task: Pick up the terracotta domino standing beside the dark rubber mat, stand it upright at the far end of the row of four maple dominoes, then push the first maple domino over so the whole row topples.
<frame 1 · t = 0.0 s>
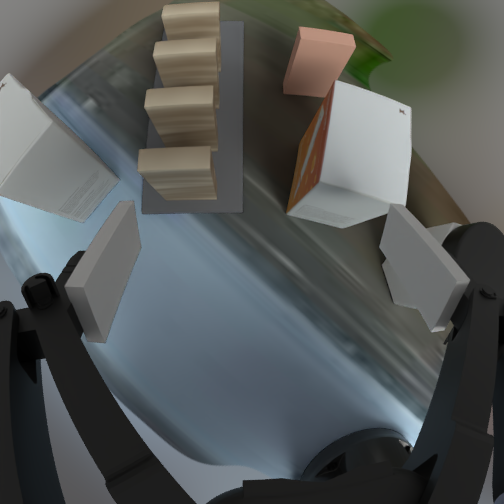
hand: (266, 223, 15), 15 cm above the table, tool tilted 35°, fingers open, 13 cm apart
skincare box: (83, 179, 30), on the table
mat: (196, 101, 31), on the table
small box: (320, 185, 32), on the table
domino 3: (196, 102, 30), point 1 cm above the table, touching mat
domino 4: (199, 67, 31), point 1 cm above the table, touching mat
domino 2: (193, 144, 30), point 1 cm above the table, touching mat
domino 5: (305, 89, 32), on the table
domino 1: (191, 192, 30), point 1 cm above the table, touching mat
jar: (413, 270, 32), on the table
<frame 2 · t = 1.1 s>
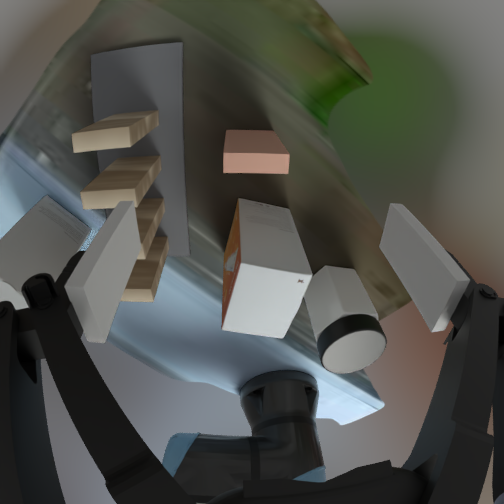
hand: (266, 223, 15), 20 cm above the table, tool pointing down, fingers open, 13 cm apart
skincare box: (62, 226, 36), on the table
mat: (140, 157, 32), on the table
small box: (255, 231, 38), on the table
domino 3: (139, 163, 32), point 1 cm above the table, touching mat
domino 4: (136, 119, 29), point 1 cm above the table, touching mat
domino 2: (143, 205, 35), point 1 cm above the table, touching mat
domino 5: (249, 137, 32), on the table
domino 1: (148, 242, 37), point 1 cm above the table, touching mat
jar: (330, 288, 44), on the table
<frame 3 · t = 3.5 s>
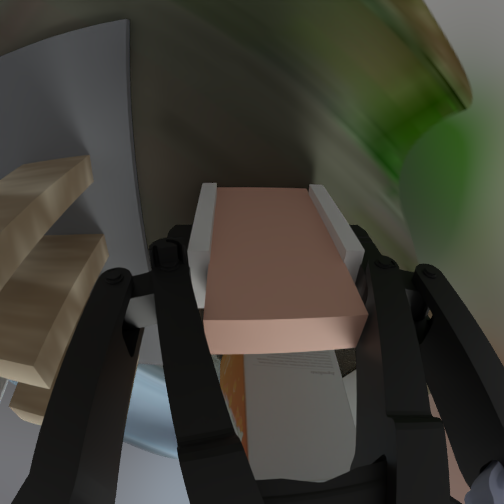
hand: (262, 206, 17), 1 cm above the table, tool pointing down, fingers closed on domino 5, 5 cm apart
mat: (74, 233, 18), on the table
small box: (266, 335, 24), on the table
domino 3: (73, 245, 18), point 1 cm above the table, touching mat
domino 4: (55, 172, 15), point 1 cm above the table, touching mat
domino 2: (92, 303, 21), point 1 cm above the table, touching mat
domino 5: (261, 200, 18), on the table, touching gripper
jar: (363, 383, 30), on the table
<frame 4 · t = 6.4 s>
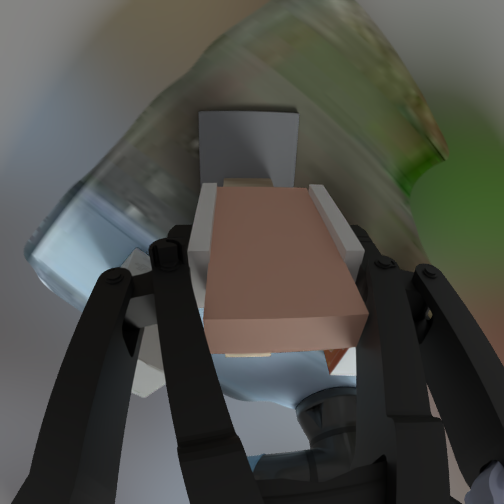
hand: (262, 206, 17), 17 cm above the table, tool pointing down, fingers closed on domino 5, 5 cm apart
skincare box: (150, 276, 40), on the table
mat: (246, 219, 36), on the table
small box: (339, 281, 42), on the table
domino 4: (247, 185, 33), point 1 cm above the table, touching mat
domino 5: (261, 199, 18), point 16 cm above the table, touching gripper
when the fingers open (2 cm above the table, at t = 9.3 s): domino 5 stays where it is, resting on mat.
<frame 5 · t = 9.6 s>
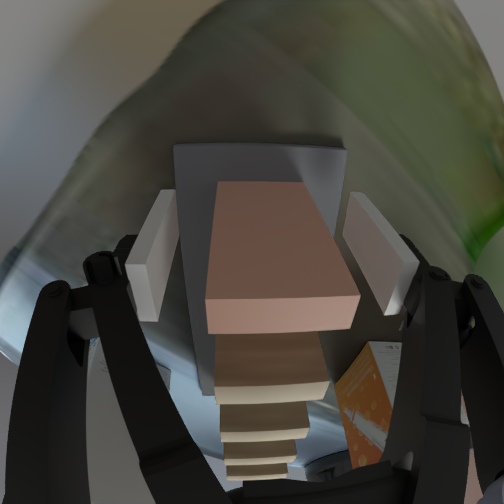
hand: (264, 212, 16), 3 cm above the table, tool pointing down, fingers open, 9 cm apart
skincare box: (126, 363, 28), on the table
mat: (254, 306, 24), on the table
small box: (372, 363, 30), on the table
domino 3: (254, 316, 24), point 1 cm above the table, touching mat
domino 4: (257, 263, 21), point 1 cm above the table, touching mat
domino 2: (252, 356, 27), point 1 cm above the table, touching mat
domino 5: (260, 193, 18), point 1 cm above the table, touching mat
domino 1: (250, 385, 30), point 1 cm above the table, touching mat
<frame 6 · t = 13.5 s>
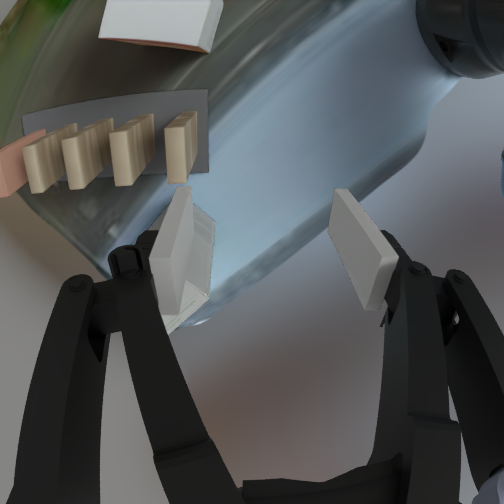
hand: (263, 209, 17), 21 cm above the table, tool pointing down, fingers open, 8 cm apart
skincare box: (179, 224, 41), on the table
mat: (107, 137, 33), on the table
small box: (182, 24, 27), on the table
domino 3: (109, 138, 33), point 1 cm above the table, touching mat
domino 4: (74, 142, 33), point 1 cm above the table, touching mat
domino 2: (148, 134, 33), point 1 cm above the table, touching mat
domino 5: (43, 147, 32), point 1 cm above the table, touching mat
domino 1: (190, 132, 33), point 1 cm above the table, touching mat
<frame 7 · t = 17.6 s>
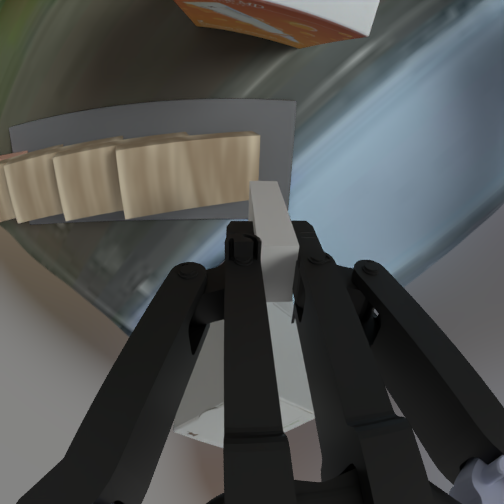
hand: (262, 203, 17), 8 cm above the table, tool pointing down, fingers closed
skincare box: (237, 282, 31), on the table
mat: (137, 162, 24), on the table
small box: (258, 1, 17), on the table
domino 3: (125, 168, 23), point 1 cm above the table, tilted 71°, touching domino 2, domino 4, mat
domino 4: (66, 174, 22), point 2 cm above the table, tilted 71°, touching domino 3, domino 5
domino 2: (188, 165, 23), point 1 cm above the table, tilted 71°, touching domino 1, domino 3, mat
domino 1: (254, 164, 23), point 1 cm above the table, tilted 71°, touching domino 2, mat
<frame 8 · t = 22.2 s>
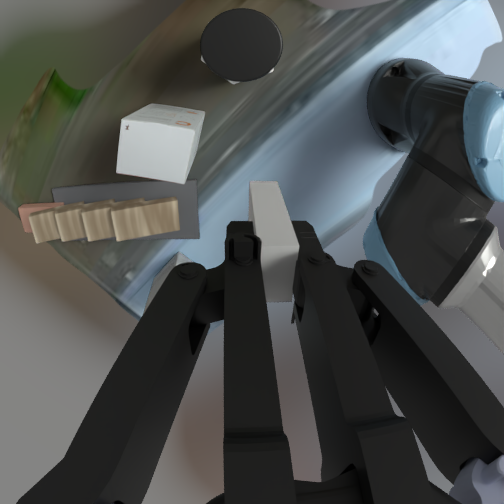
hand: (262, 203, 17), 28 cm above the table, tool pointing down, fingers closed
skincare box: (179, 272, 55), on the table
mat: (122, 211, 48), on the table
small box: (174, 127, 41), on the table
domino 3: (116, 214, 46), point 1 cm above the table, tilted 71°, touching domino 2, domino 4, mat
domino 4: (86, 216, 46), point 2 cm above the table, tilted 71°, touching domino 3, domino 5
domino 2: (146, 214, 47), point 1 cm above the table, tilted 71°, touching domino 1, domino 3, mat
domino 5: (64, 217, 46), point 2 cm above the table, tilted 93°, touching domino 4, mat
domino 1: (177, 213, 47), point 1 cm above the table, tilted 71°, touching domino 2, mat
jar: (239, 50, 36), on the table
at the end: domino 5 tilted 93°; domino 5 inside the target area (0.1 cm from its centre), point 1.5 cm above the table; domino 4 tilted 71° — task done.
